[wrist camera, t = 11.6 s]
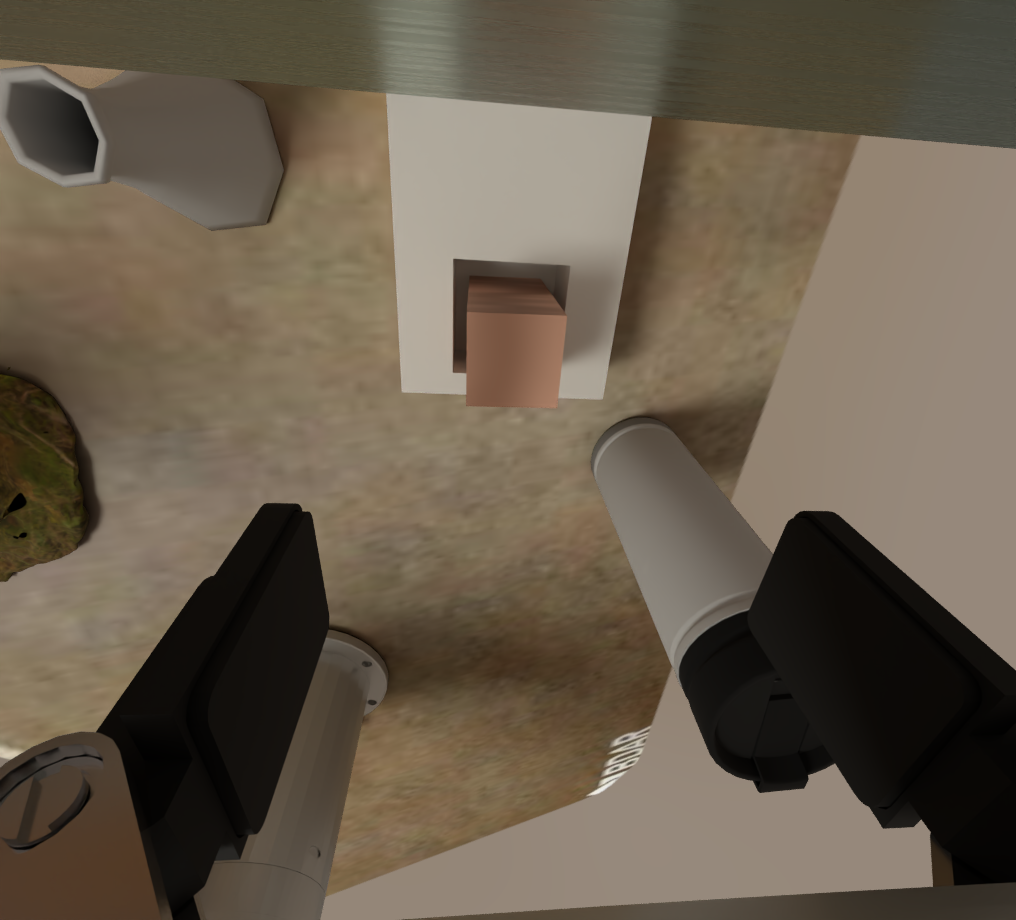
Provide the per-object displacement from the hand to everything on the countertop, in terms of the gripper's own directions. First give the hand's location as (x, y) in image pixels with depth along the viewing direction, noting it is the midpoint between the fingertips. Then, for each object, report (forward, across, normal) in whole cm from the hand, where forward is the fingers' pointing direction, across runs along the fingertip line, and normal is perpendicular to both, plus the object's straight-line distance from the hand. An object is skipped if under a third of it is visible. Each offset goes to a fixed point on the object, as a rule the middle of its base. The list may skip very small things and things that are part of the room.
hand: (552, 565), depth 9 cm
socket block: (+21, 0, -4) cm, 22 cm away
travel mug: (+22, -10, +9) cm, 26 cm away
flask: (+22, +15, -8) cm, 27 cm away
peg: (+21, 0, 0) cm, 21 cm away
